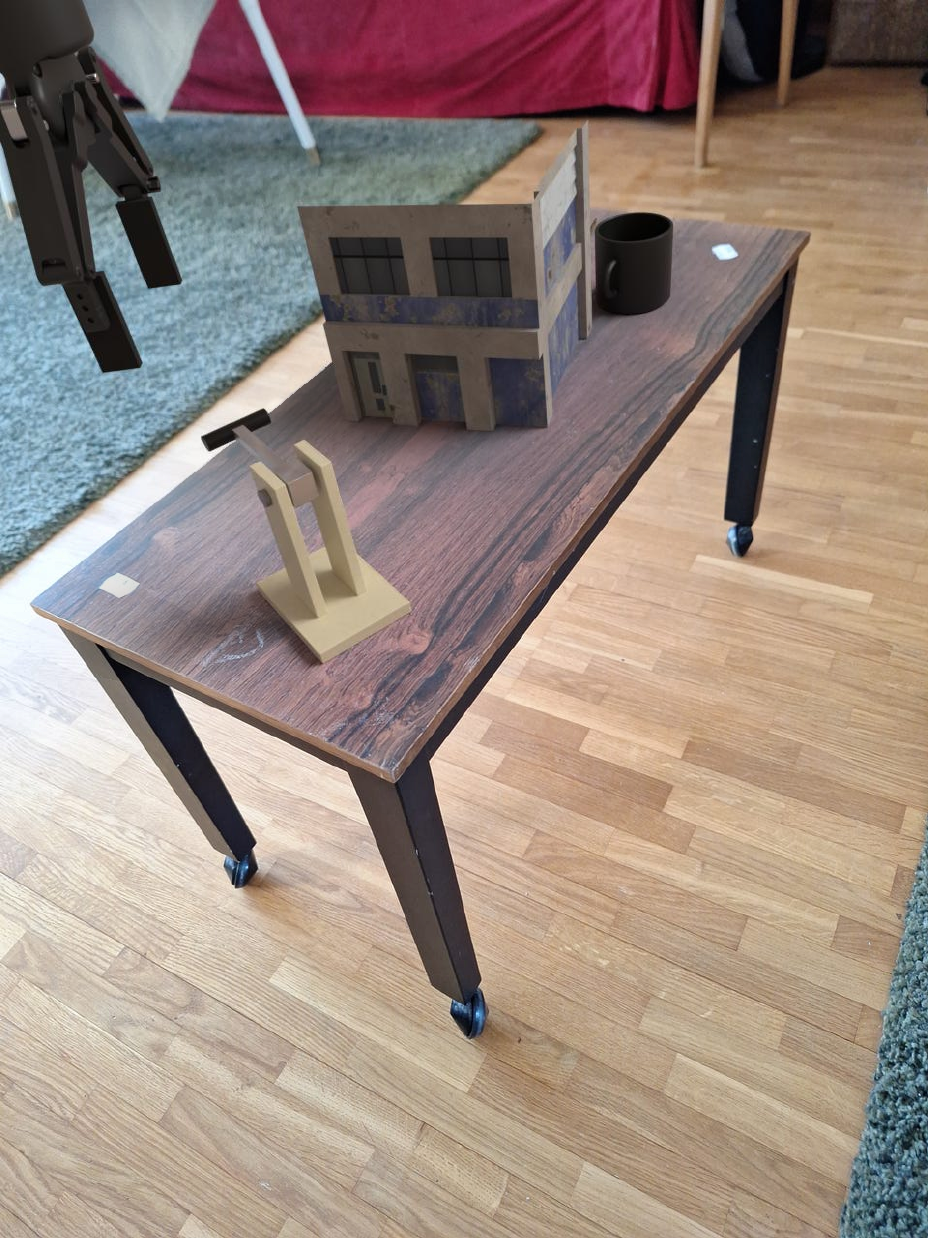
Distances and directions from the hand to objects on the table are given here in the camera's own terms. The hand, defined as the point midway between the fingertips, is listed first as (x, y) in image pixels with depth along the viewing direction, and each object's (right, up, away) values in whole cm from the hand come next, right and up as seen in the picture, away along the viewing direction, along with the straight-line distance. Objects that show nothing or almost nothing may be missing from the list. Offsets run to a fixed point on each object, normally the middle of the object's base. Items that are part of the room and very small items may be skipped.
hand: (145, 323), depth 64 cm
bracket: (+12, -21, +12) cm, 27 cm away
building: (+25, +7, +38) cm, 46 cm away
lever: (+8, -10, +7) cm, 14 cm away
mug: (+45, +18, +46) cm, 67 cm away
